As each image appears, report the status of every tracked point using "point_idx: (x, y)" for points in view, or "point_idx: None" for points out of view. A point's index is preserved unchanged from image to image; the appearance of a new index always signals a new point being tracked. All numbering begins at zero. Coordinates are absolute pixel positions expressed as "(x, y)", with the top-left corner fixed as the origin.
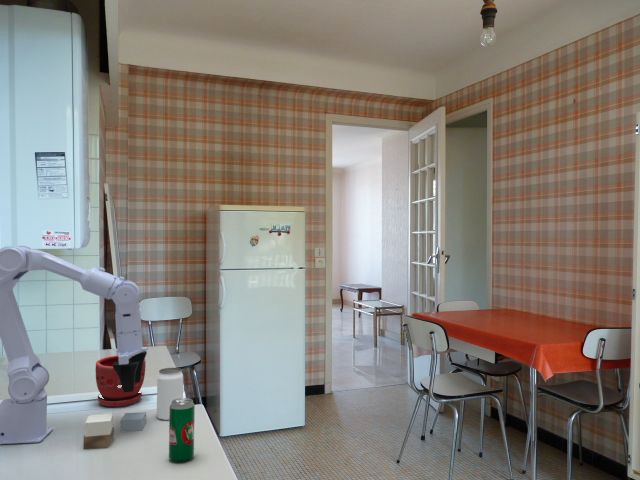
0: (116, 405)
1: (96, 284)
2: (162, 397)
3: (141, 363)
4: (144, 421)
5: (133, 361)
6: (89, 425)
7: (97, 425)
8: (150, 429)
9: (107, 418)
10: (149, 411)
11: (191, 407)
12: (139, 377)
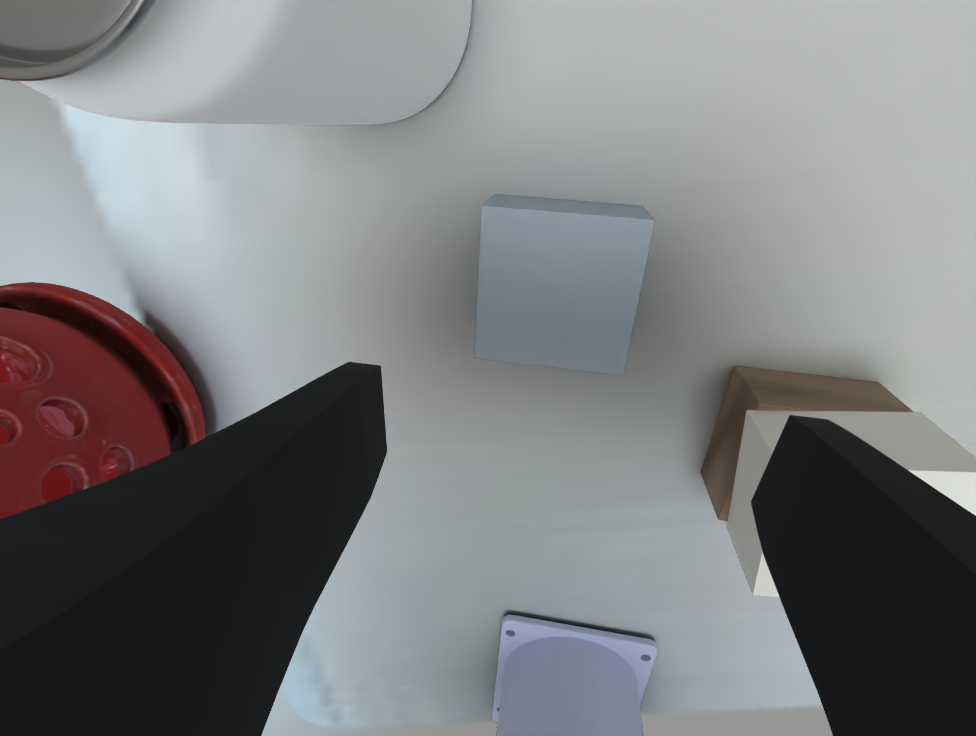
0: (200, 406)
1: None
2: (408, 38)
3: (194, 545)
4: (554, 203)
5: (198, 726)
6: None
7: None
8: (635, 144)
9: None
10: (260, 196)
11: None
12: (354, 400)
